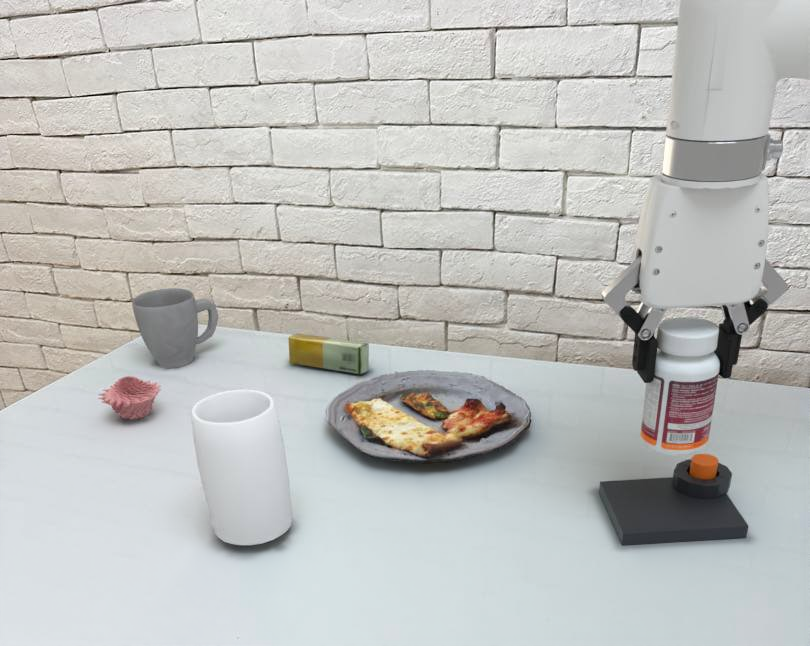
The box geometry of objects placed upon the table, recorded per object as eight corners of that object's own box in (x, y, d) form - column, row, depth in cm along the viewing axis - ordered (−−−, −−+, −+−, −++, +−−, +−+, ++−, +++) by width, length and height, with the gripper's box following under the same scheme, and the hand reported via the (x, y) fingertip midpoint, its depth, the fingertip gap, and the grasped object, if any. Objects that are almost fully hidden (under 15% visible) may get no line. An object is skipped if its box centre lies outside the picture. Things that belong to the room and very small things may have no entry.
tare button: (711, 467, 88) (713, 452, 87) (719, 480, 86) (722, 465, 85) (685, 469, 88) (688, 454, 87) (693, 481, 86) (696, 466, 85)
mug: (157, 377, 123) (142, 312, 117) (138, 359, 129) (123, 296, 124) (234, 357, 128) (223, 294, 123) (212, 341, 134) (201, 279, 129)
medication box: (370, 370, 121) (370, 342, 119) (361, 375, 119) (361, 347, 117) (297, 358, 126) (296, 331, 124) (288, 363, 124) (286, 336, 122)
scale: (716, 482, 91) (720, 457, 89) (754, 537, 82) (759, 511, 80) (597, 489, 91) (599, 464, 89) (621, 545, 82) (624, 519, 80)
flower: (178, 415, 112) (170, 375, 109) (123, 436, 107) (113, 396, 104) (147, 399, 117) (138, 360, 113) (93, 419, 112) (82, 379, 109)
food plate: (568, 438, 101) (569, 411, 99) (398, 497, 91) (396, 468, 90) (452, 372, 119) (451, 348, 117) (300, 416, 110) (297, 390, 108)
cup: (206, 523, 89) (180, 397, 81) (285, 504, 91) (266, 381, 84) (222, 566, 82) (194, 434, 75) (306, 545, 85) (288, 415, 77)
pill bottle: (719, 440, 80) (739, 324, 74) (685, 464, 77) (703, 344, 71) (662, 422, 84) (676, 309, 78) (626, 444, 81) (638, 328, 74)
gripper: (802, 145, 70) (762, 353, 80) (591, 157, 70) (578, 364, 80) (844, 162, 64) (795, 385, 74) (613, 175, 64) (595, 398, 74)
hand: (682, 373), depth 77 cm, fingers closed on pill bottle, 6 cm apart
